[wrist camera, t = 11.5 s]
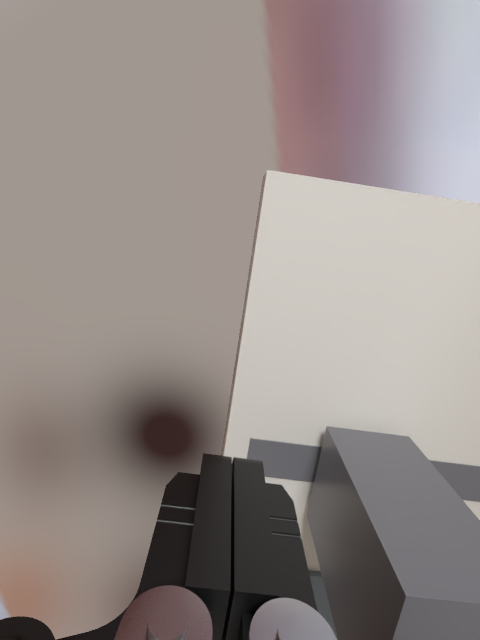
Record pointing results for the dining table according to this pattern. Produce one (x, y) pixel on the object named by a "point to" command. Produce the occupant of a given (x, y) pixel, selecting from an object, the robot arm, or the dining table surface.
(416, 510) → the slider
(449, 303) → the switch panel
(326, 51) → the dining table surface
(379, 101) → the dining table surface
